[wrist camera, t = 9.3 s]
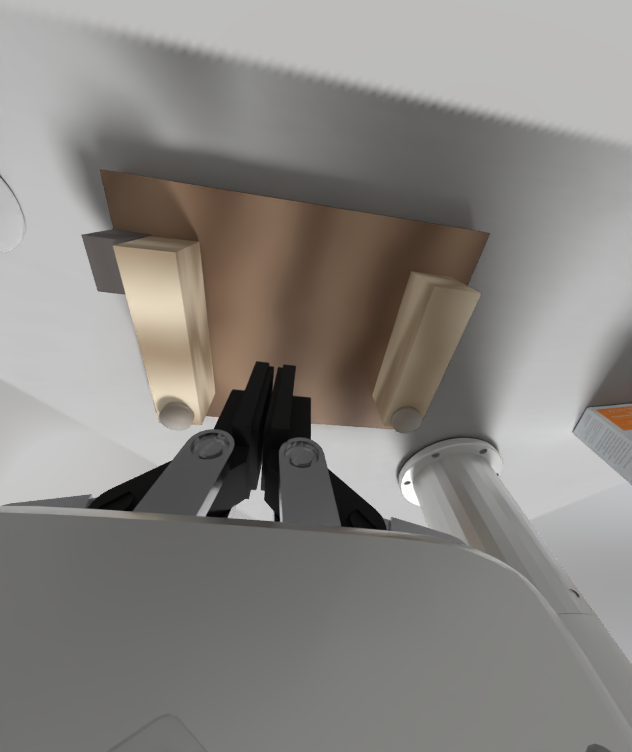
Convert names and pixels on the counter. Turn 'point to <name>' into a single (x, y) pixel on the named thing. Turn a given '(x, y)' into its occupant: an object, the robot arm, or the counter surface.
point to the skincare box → (609, 435)
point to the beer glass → (9, 220)
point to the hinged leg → (170, 325)
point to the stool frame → (310, 293)
